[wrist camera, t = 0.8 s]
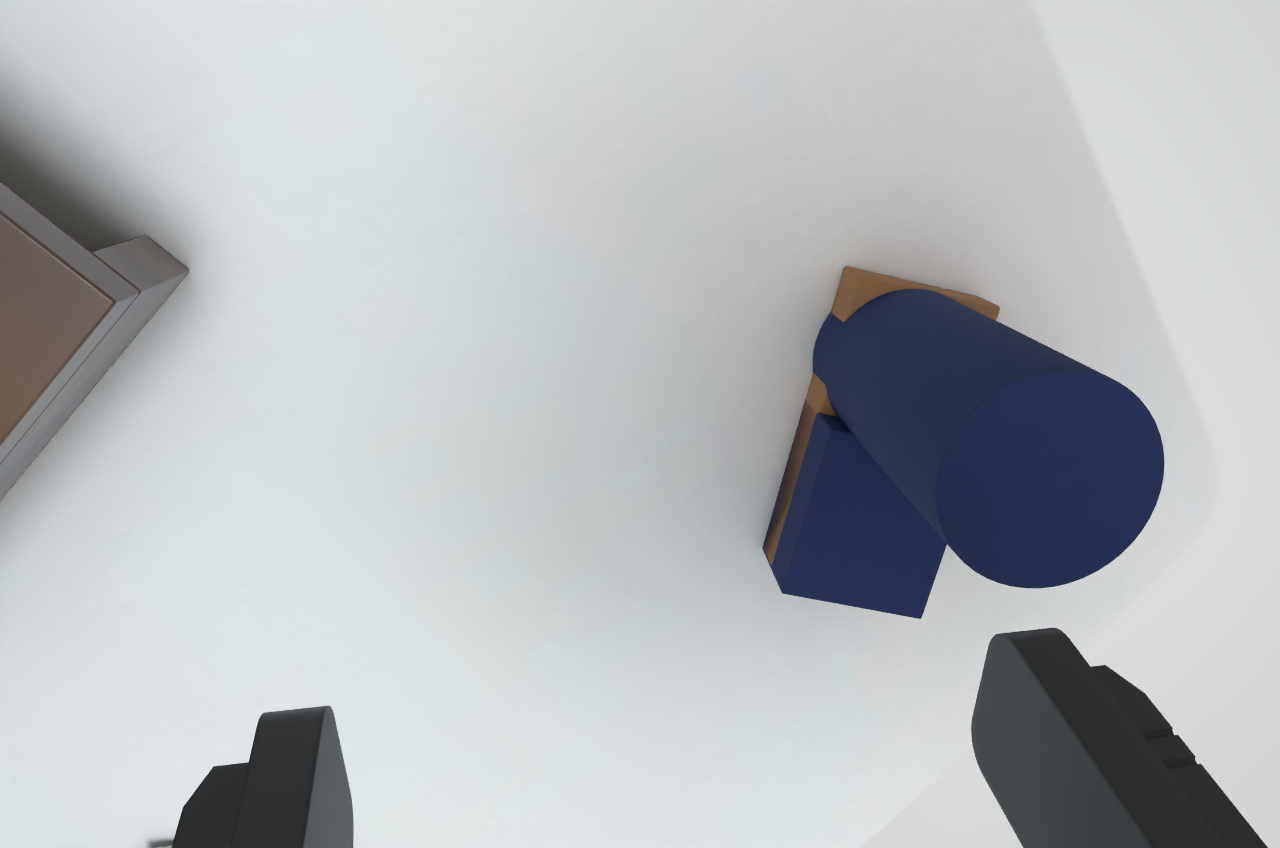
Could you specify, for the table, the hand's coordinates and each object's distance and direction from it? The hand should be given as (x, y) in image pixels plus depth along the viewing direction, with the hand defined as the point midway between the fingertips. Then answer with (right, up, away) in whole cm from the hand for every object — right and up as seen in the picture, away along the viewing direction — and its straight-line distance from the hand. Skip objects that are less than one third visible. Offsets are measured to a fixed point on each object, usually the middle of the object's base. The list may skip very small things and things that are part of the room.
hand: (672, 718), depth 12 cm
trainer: (+7, +4, +20) cm, 21 cm away
